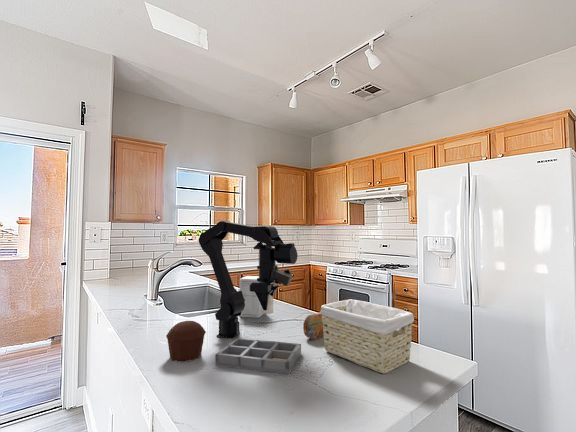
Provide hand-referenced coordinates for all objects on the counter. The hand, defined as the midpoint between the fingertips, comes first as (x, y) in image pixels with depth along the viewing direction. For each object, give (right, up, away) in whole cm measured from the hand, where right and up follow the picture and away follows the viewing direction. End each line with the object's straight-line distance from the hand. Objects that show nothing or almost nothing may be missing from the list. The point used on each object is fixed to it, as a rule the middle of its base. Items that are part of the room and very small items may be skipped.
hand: (267, 308), depth 110 cm
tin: (+18, -12, +6) cm, 23 cm away
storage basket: (+31, -11, -13) cm, 35 cm away
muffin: (-24, -11, -13) cm, 29 cm away
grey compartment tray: (-1, -11, -15) cm, 18 cm away
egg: (0, -1, 0) cm, 1 cm away
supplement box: (-9, -13, +35) cm, 39 cm away
